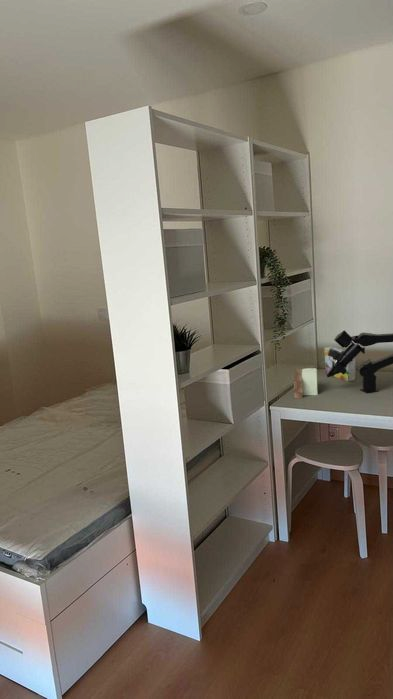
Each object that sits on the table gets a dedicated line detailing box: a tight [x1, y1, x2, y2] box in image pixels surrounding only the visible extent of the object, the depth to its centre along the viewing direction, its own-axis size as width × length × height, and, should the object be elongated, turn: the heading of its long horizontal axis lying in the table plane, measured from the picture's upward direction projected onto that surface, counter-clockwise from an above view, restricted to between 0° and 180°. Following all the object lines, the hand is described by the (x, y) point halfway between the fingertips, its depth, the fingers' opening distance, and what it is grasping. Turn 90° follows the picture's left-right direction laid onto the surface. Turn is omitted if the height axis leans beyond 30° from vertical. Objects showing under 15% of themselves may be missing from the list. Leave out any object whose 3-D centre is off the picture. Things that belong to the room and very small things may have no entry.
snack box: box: [323, 346, 357, 382], centre depth 290 cm, size 21×6×15 cm, turn 21°
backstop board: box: [293, 369, 304, 399], centre depth 269 cm, size 4×20×9 cm, turn 168°
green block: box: [301, 367, 318, 396], centre depth 268 cm, size 7×10×11 cm
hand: (327, 376), depth 265 cm, fingers closed
